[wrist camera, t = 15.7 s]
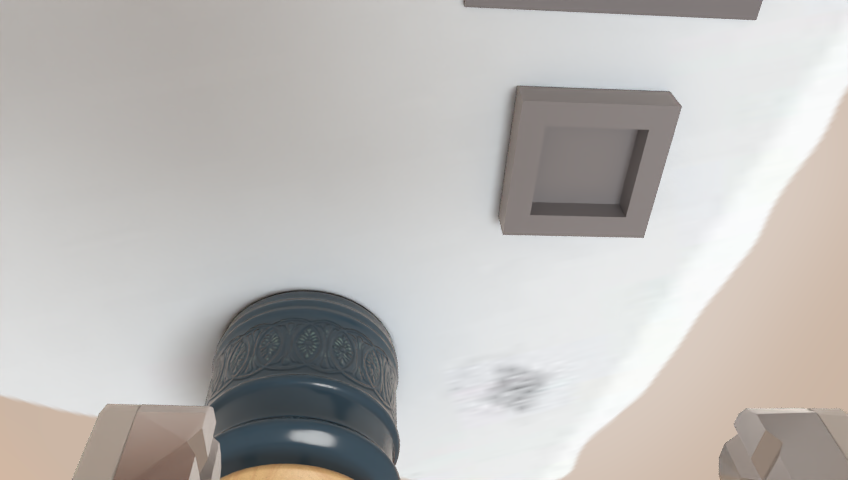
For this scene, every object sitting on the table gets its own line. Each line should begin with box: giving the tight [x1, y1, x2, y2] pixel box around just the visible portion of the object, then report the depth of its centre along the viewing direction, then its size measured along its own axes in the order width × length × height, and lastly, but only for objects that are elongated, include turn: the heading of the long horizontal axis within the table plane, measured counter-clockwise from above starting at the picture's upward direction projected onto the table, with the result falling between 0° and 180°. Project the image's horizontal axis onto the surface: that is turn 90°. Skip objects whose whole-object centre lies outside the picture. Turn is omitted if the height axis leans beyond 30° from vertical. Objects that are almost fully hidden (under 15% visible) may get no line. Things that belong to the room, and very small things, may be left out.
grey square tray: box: [499, 86, 682, 238], centre depth 43 cm, size 9×9×2 cm
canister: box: [205, 291, 400, 480], centre depth 46 cm, size 13×13×18 cm
